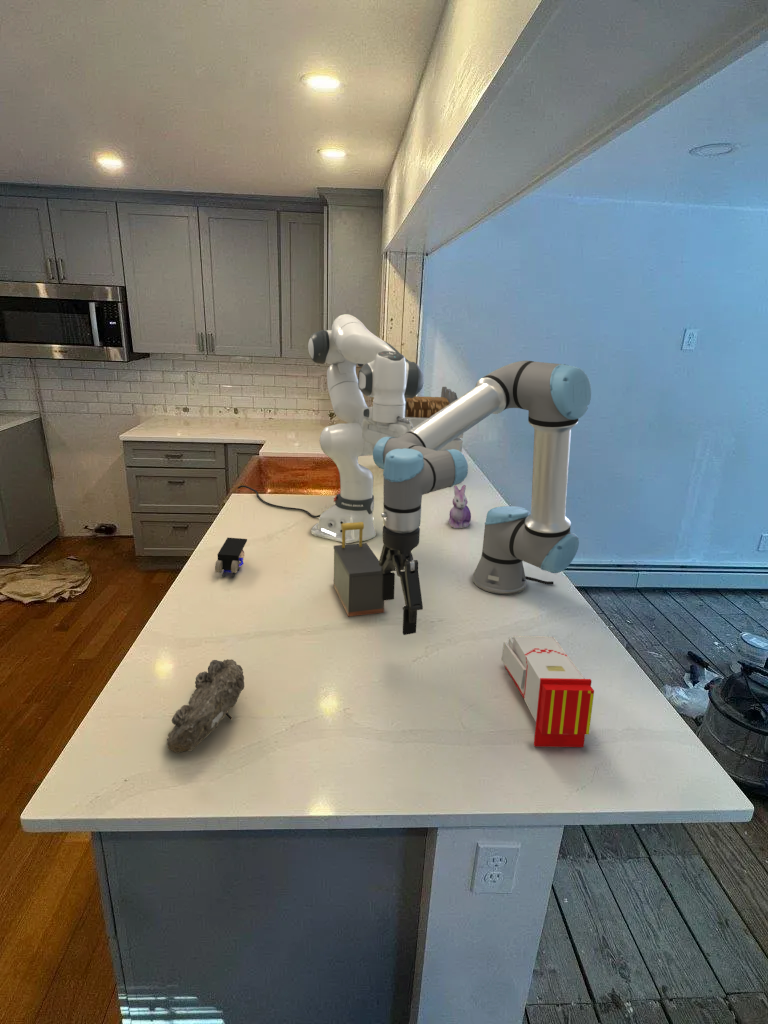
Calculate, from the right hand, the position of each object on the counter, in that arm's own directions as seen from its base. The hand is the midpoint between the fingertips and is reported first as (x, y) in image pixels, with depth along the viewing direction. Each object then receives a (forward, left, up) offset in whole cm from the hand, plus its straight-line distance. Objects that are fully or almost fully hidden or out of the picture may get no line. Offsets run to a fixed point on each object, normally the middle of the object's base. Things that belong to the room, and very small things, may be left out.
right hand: (398, 615), depth 123 cm
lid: (+1, -32, -1) cm, 32 cm away
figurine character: (+32, -56, -12) cm, 66 cm away
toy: (-25, +19, -12) cm, 34 cm away
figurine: (-51, -78, -12) cm, 94 cm away
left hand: (-10, -45, +21) cm, 51 cm away
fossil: (+39, +8, -12) cm, 42 cm away
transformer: (-61, -146, -12) cm, 159 cm away
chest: (+1, -31, -12) cm, 34 cm away
